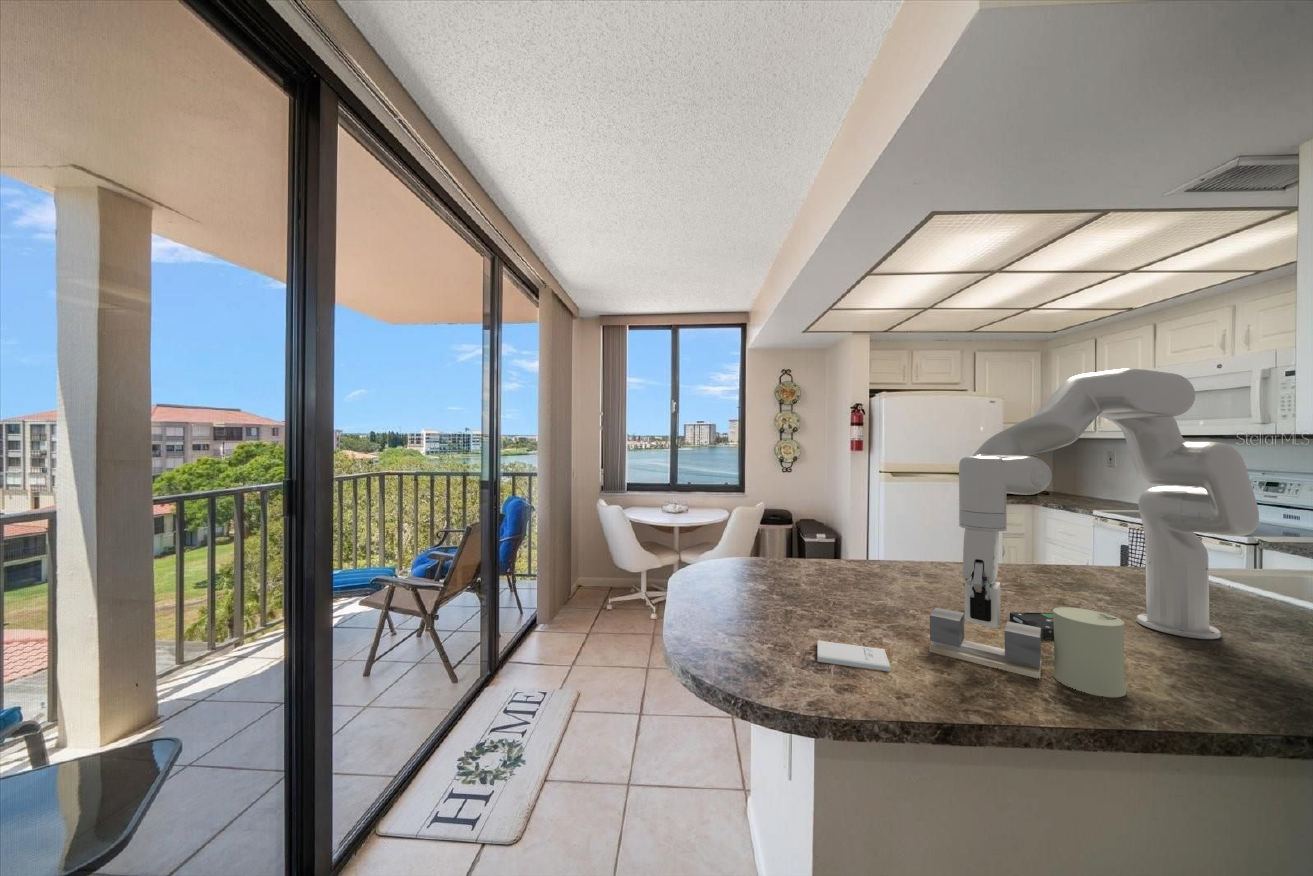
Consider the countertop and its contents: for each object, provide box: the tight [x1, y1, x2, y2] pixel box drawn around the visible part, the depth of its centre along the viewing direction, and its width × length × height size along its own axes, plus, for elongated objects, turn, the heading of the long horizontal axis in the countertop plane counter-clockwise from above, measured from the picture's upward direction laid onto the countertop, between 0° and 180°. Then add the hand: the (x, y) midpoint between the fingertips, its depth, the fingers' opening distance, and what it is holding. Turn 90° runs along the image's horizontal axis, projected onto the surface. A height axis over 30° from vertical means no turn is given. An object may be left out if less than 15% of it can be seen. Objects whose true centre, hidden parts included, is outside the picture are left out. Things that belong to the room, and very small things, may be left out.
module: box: [964, 577, 1001, 629], centre depth 91 cm, size 6×5×7 cm
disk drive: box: [1009, 611, 1054, 640], centre depth 105 cm, size 10×3×15 cm
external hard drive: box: [816, 640, 891, 672], centre depth 91 cm, size 2×8×12 cm
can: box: [1052, 606, 1127, 698], centre depth 81 cm, size 9×9×12 cm
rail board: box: [929, 607, 1042, 680], centre depth 91 cm, size 7×17×7 cm, turn 50°
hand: (982, 614), depth 91 cm, fingers closed on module, 6 cm apart
